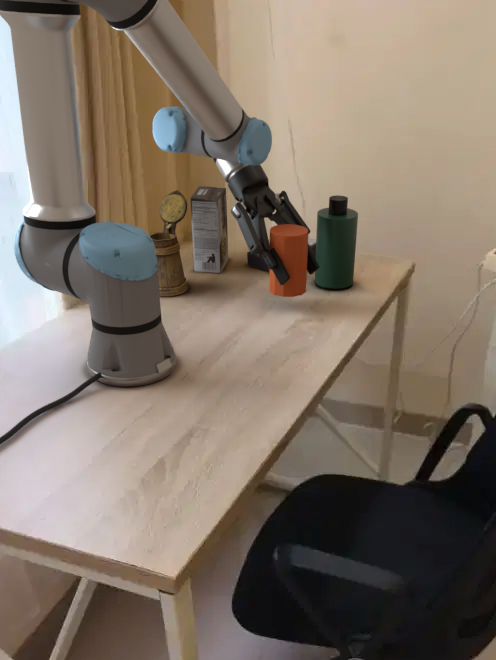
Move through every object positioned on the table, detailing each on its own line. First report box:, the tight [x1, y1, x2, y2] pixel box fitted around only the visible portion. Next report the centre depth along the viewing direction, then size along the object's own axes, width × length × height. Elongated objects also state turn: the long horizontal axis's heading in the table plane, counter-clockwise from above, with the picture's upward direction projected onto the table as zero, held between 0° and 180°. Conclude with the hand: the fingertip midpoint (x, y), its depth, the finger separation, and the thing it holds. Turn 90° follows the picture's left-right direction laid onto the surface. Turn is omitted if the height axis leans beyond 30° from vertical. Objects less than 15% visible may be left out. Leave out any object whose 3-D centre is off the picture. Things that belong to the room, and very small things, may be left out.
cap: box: [268, 224, 309, 298], centre depth 148 cm, size 7×7×12 cm
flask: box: [313, 194, 359, 292], centre depth 158 cm, size 9×9×18 cm
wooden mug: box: [148, 189, 189, 297], centre depth 156 cm, size 9×14×18 cm, turn 163°
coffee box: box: [189, 185, 230, 274], centre depth 166 cm, size 9×6×16 cm
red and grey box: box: [246, 237, 316, 272], centre depth 173 cm, size 11×4×15 cm
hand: (300, 276), depth 147 cm, fingers closed on cap, 8 cm apart
